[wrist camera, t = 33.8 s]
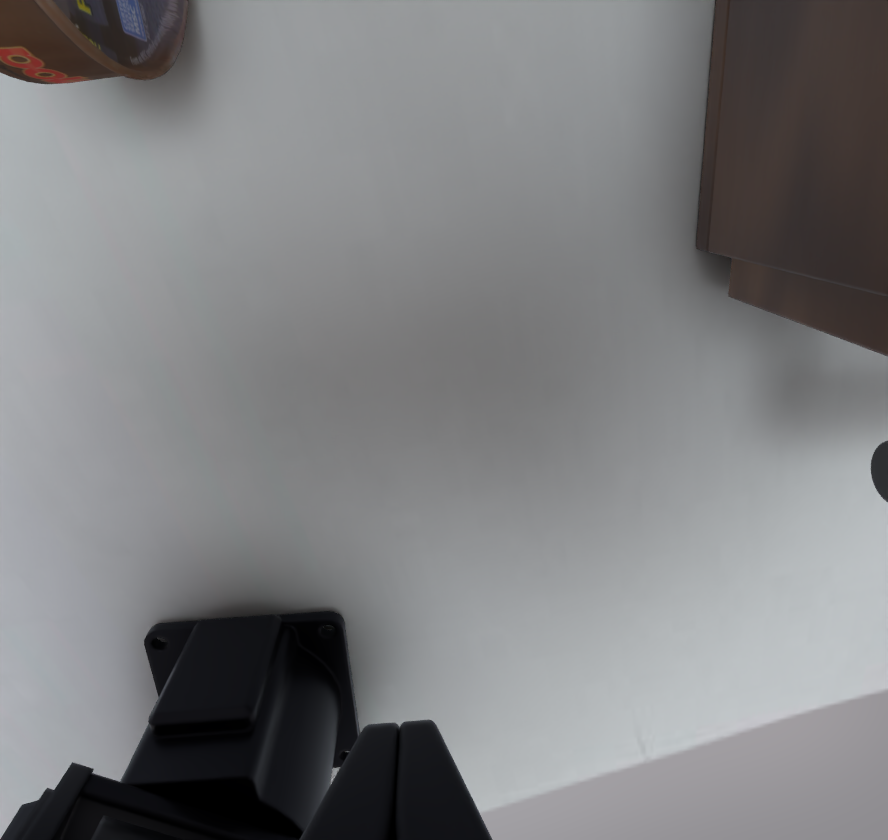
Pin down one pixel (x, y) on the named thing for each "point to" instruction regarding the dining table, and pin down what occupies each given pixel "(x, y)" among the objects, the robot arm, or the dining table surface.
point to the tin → (89, 39)
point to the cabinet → (799, 139)
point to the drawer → (820, 318)
